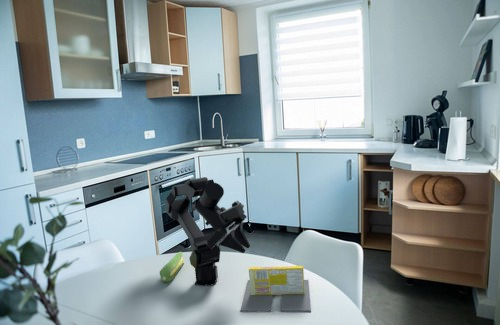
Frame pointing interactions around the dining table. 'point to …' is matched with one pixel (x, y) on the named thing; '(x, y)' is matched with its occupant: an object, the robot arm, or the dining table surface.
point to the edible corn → (171, 268)
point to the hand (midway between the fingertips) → (246, 249)
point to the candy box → (276, 280)
